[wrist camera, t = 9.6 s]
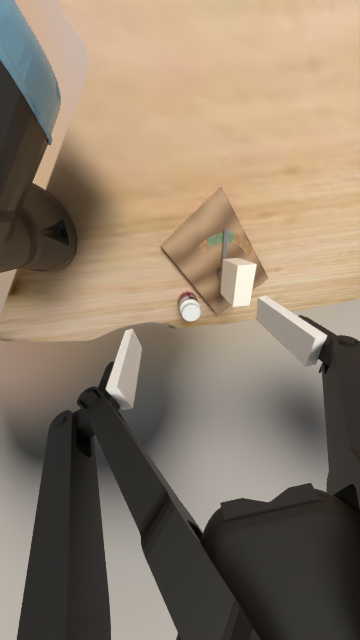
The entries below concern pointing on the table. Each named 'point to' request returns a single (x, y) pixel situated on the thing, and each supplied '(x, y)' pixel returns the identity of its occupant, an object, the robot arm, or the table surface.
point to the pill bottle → (189, 306)
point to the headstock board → (211, 248)
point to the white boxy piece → (236, 278)
